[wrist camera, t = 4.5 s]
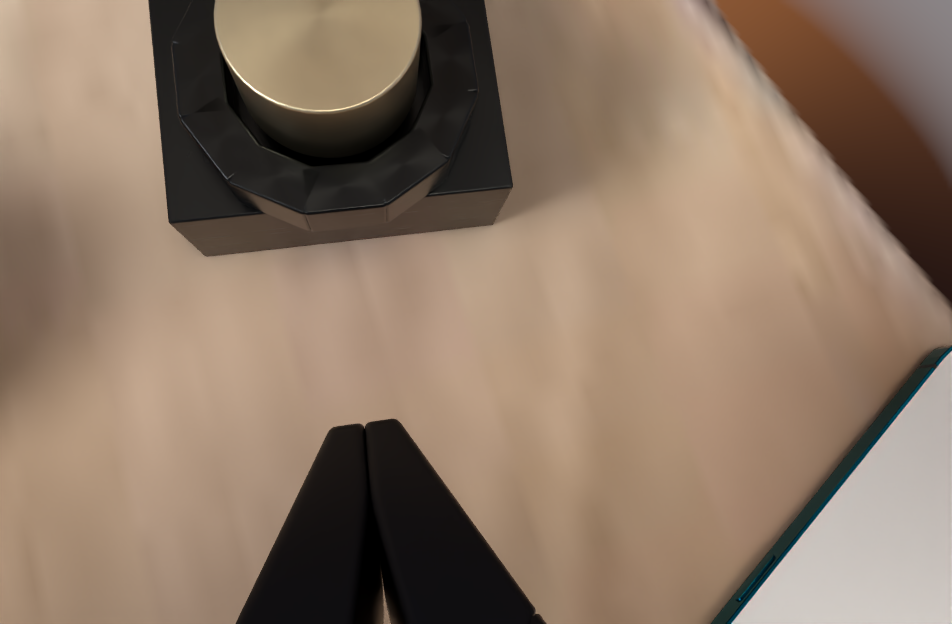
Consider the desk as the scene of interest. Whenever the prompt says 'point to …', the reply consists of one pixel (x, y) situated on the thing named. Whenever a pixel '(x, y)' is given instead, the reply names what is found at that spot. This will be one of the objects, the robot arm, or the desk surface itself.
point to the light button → (323, 68)
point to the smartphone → (871, 525)
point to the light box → (328, 179)
